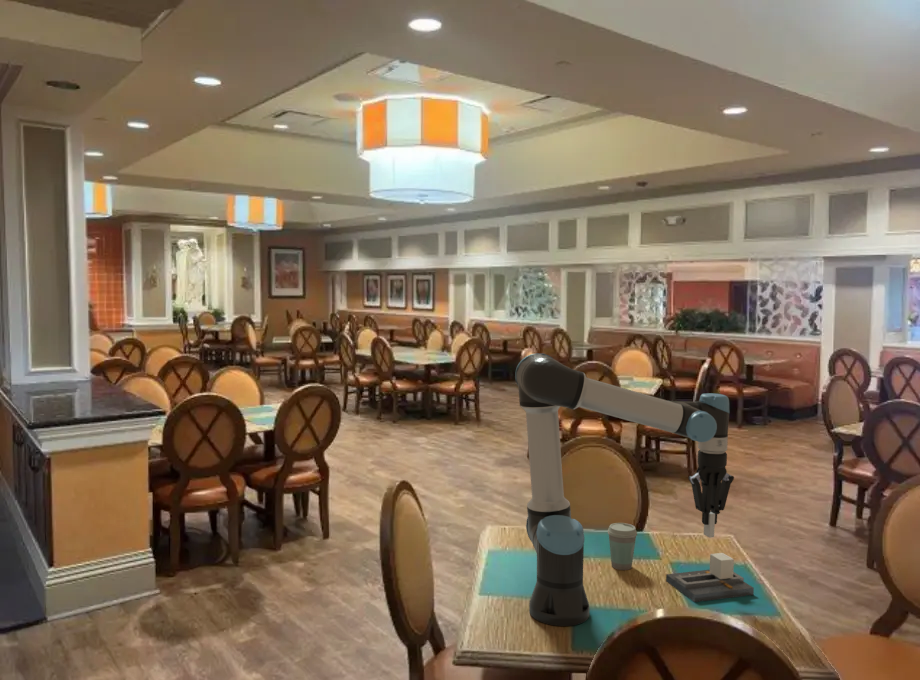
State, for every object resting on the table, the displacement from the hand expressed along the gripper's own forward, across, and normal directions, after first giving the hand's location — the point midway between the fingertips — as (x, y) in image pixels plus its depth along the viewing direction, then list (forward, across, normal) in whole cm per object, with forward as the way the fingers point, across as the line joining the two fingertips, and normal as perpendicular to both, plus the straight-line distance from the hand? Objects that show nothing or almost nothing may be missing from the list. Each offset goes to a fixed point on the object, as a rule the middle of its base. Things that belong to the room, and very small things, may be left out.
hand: (708, 535), depth 198 cm
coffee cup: (+15, -15, +20) cm, 29 cm away
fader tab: (+13, +4, 0) cm, 13 cm away
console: (+15, +1, 0) cm, 15 cm away
